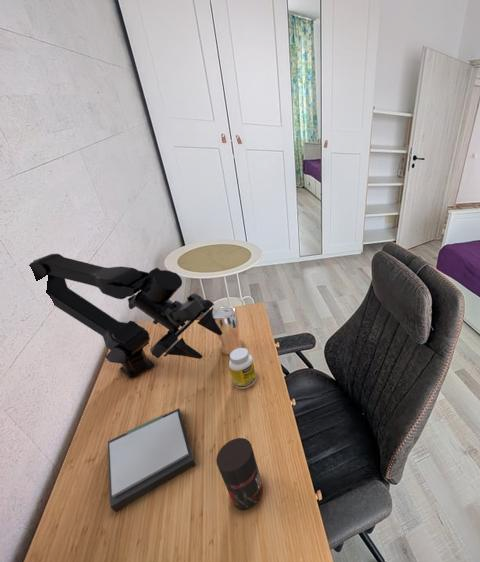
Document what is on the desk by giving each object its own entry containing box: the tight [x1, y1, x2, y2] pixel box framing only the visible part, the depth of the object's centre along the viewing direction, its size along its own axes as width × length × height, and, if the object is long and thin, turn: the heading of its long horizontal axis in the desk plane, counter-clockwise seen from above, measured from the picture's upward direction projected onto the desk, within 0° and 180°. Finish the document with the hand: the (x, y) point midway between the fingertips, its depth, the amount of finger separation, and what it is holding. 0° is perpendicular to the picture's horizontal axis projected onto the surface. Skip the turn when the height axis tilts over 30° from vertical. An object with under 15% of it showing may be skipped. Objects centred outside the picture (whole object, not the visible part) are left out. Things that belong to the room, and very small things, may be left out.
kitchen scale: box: [107, 408, 197, 513], centre depth 63 cm, size 16×14×3 cm
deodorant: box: [215, 437, 264, 511], centre depth 55 cm, size 6×6×15 cm
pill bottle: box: [228, 347, 257, 390], centre depth 81 cm, size 6×6×11 cm
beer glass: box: [213, 305, 243, 356], centre depth 90 cm, size 7×7×15 cm
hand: (212, 345), depth 77 cm, fingers open, 9 cm apart
